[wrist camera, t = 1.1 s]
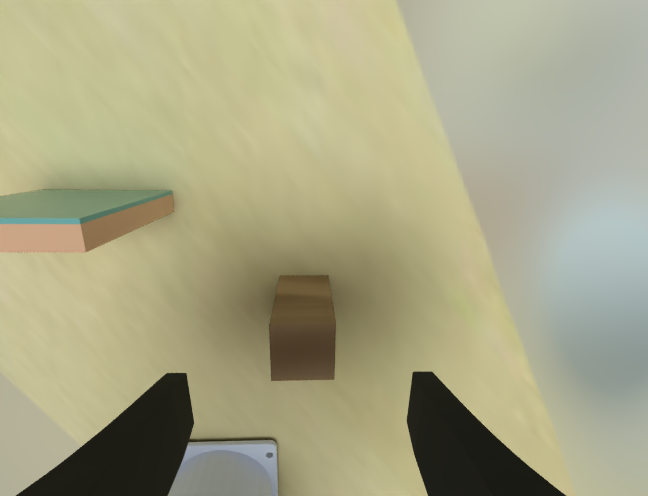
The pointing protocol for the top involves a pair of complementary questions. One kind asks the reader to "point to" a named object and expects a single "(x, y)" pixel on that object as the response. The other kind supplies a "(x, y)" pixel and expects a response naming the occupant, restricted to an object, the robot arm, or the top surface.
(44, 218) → the tile
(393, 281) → the top surface
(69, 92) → the top surface
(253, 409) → the top surface
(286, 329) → the block
